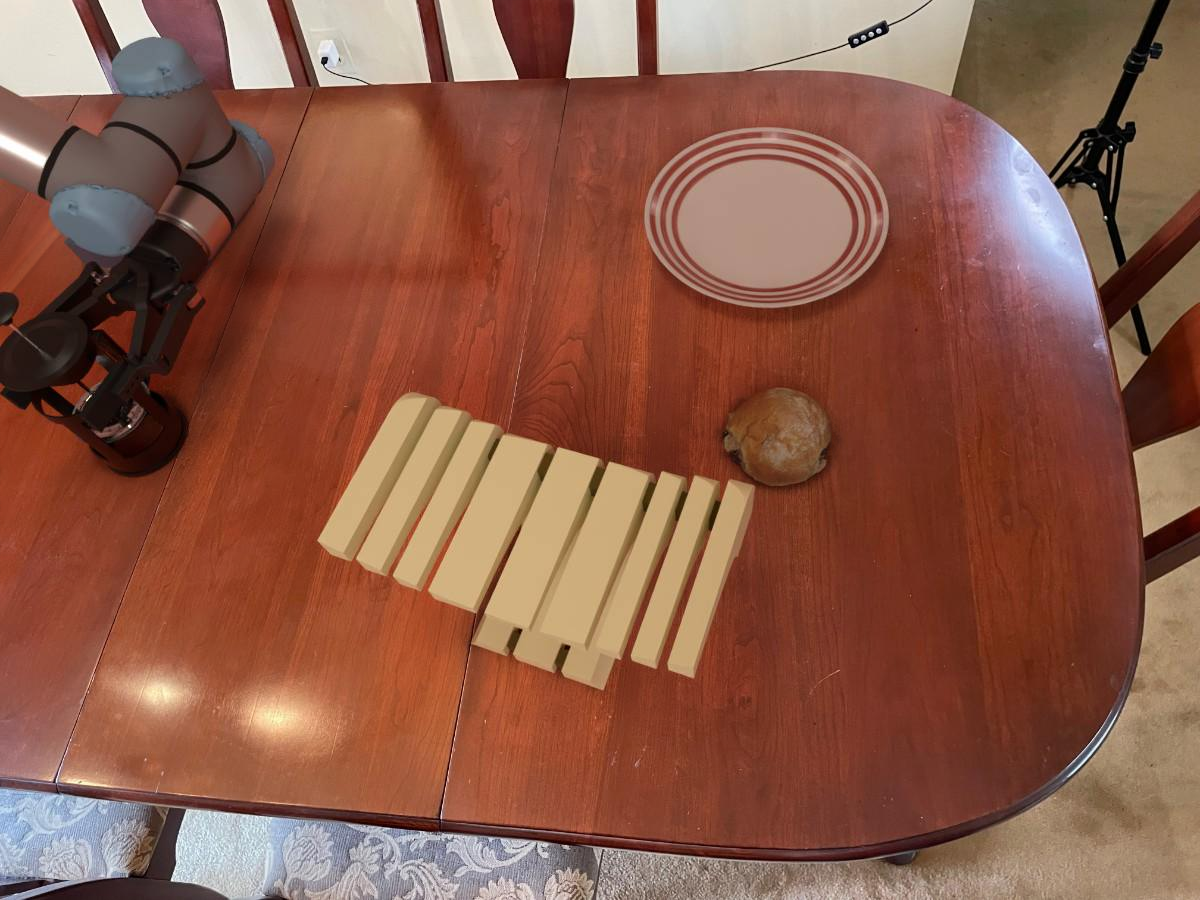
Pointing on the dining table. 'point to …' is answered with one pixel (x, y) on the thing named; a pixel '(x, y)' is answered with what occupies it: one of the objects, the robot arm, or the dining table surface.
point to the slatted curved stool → (541, 539)
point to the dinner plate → (766, 217)
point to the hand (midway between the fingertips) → (50, 412)
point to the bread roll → (779, 436)
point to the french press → (84, 386)
